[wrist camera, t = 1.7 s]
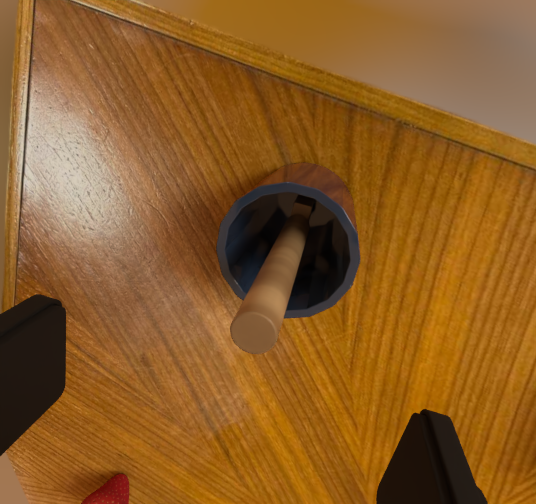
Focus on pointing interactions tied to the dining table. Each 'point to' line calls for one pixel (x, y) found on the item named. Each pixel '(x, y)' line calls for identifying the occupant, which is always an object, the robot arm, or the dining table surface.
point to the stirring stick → (273, 285)
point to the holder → (317, 243)
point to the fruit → (111, 492)
